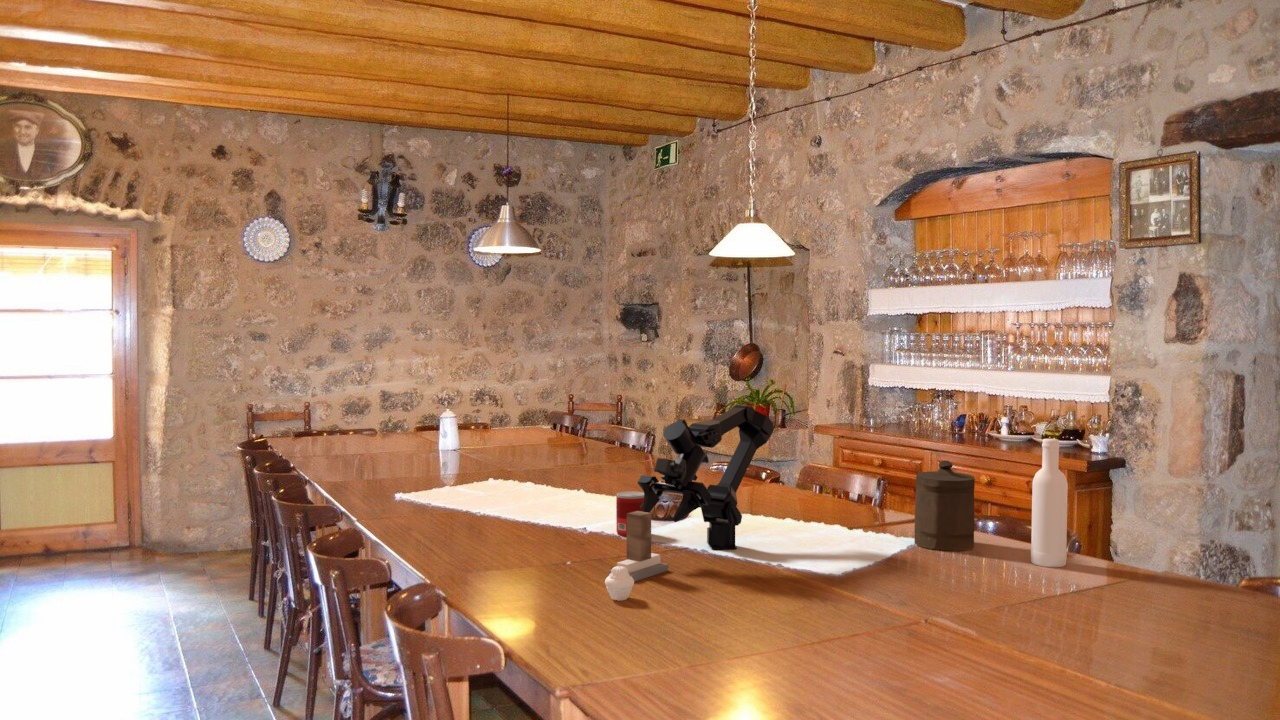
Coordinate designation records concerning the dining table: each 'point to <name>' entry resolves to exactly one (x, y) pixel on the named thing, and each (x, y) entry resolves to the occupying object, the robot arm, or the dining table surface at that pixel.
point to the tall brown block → (638, 536)
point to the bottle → (1049, 510)
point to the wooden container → (944, 509)
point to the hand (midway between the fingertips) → (658, 518)
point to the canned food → (627, 508)
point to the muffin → (619, 583)
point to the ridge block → (644, 567)
